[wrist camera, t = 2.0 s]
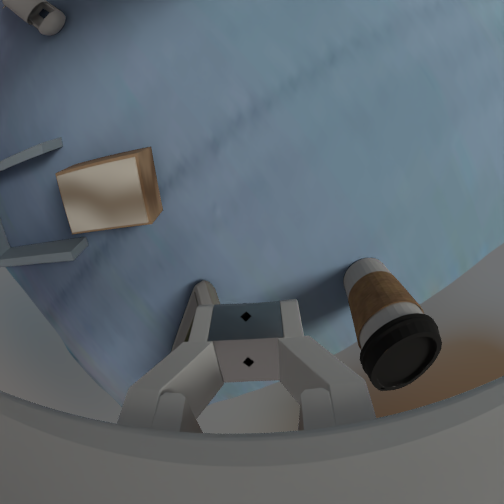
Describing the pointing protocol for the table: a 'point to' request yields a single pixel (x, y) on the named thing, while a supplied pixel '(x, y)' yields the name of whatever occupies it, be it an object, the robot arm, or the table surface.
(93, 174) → the tan block
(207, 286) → the digital clock
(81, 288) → the table surface
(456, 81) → the table surface
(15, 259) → the bay
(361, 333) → the coffee cup
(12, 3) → the torpedo
